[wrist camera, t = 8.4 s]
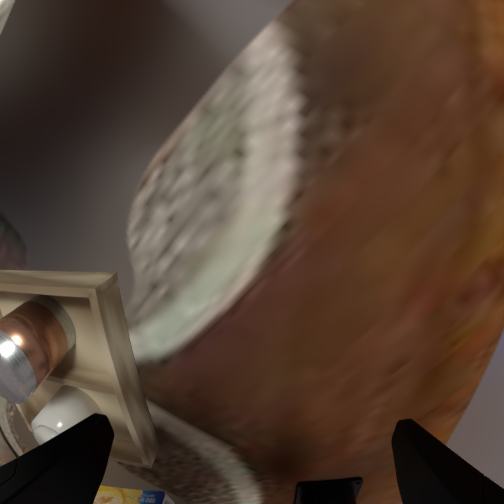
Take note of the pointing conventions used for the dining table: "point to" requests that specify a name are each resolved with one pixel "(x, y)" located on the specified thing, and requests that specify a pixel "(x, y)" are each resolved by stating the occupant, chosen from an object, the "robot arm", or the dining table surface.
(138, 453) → the beige wooden tray
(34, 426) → the jar
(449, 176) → the dining table surface
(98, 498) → the blue food box
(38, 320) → the can
